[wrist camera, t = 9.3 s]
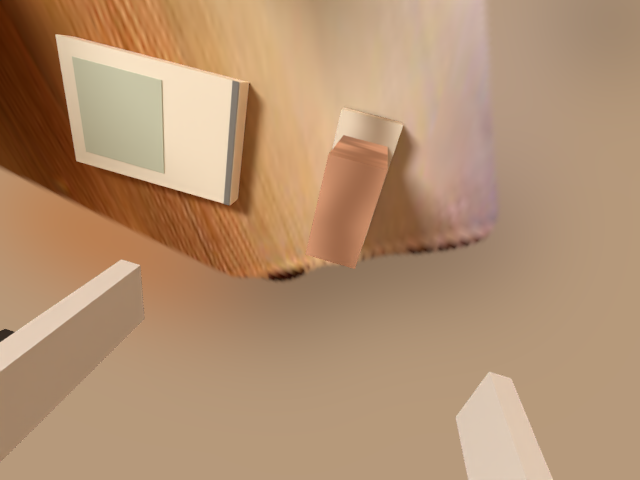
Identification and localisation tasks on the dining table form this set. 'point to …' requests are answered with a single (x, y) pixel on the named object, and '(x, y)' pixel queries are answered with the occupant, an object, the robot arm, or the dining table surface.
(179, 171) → the white flat block
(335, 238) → the stub
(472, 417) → the robot arm
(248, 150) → the dining table surface
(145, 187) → the dining table surface
